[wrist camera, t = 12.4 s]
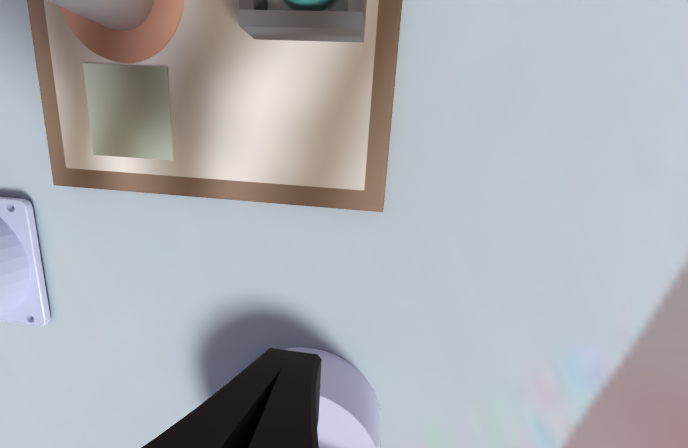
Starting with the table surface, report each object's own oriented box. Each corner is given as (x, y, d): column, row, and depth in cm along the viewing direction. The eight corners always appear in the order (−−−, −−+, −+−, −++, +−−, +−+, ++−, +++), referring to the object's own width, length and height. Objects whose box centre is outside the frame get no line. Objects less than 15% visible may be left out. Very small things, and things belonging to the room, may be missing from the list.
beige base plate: (64, 183, 18) (19, 188, 16) (23, -116, 15) (-40, -163, 13) (383, 209, 16) (383, 218, 14) (413, -126, 13) (419, -182, 11)
